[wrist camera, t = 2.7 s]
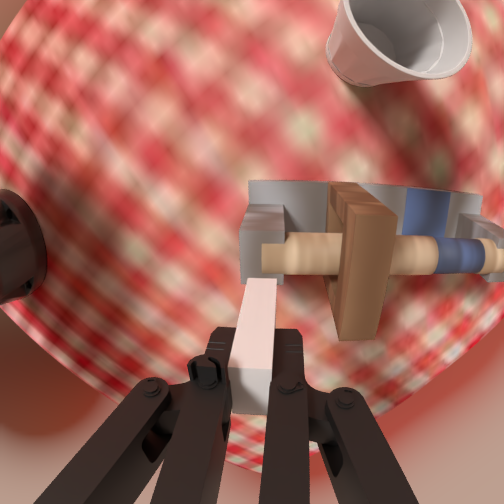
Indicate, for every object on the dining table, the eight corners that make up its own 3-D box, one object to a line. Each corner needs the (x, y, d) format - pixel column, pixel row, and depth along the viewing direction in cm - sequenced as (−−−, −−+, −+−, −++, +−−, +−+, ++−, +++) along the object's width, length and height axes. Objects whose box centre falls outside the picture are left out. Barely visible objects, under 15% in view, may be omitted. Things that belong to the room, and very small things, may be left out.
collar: (322, 272, 28) (339, 340, 19) (327, 181, 25) (356, 214, 16) (347, 272, 28) (374, 339, 19) (356, 182, 25) (398, 216, 15)
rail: (251, 261, 30) (241, 311, 22) (249, 180, 27) (236, 203, 19) (465, 263, 28) (505, 303, 20) (478, 194, 25) (528, 219, 17)
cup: (415, 77, 21) (492, 59, 10) (346, 110, 24) (396, 99, 13) (371, 6, 19) (421, -51, 8) (298, 35, 21) (312, -25, 10)
